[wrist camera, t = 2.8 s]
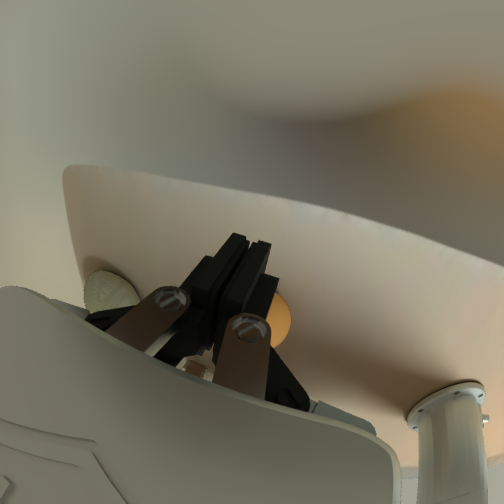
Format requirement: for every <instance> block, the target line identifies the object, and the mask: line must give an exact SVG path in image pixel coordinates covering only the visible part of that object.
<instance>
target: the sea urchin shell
mask: <svg viewBox="0 0 504 504" xmlns="http://www.w3.org/2000/svg"><path fill="white" fill-rule="evenodd" d="M140 302H141V301H140V298H139V296H138V294H137V293H136V291H135V289H134V287H133V286H132V285H131V284H130V283H129V282H127V281H126V280H124V279H123V278H121V277H120V276H118V275H115V274H113V273H111V272H108V271H102V270H101V271H100V270H99V271H97V272H94V273H93V274H91V275H90V277H89V278H88V280H87V282H86V283H85V286H84V303H85V306H86V309H87V310H90V312H91V314H92V313H94V312H97V311H102V310H108V309H114V308H120V307H126V306H132V305H137V304H138V303H140Z"/></svg>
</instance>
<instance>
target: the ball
mask: <svg viewBox="0 0 504 504" xmlns="http://www.w3.org/2000/svg"><path fill="white" fill-rule="evenodd" d="M266 321H267V322H268V323H269V325H270V327H271V333H272V334H271V344H270V345H271V346H272V347H273V348H274V347H276V346H278V345H279V344H280V343H281V342H282V341H283V340H284V339H285V337H286V336H287V334H288V332H289V329H290V325H291V315H290V310H289V308H288V306H287V304H286V302H285V301H284V300H283V299H282V298H281V297H280V296H279V295H278V294H277V293H275V295H274V298H273V301H272V304H271V307H270V310H269V313H268V316H267V319H266Z"/></svg>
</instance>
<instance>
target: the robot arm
mask: <svg viewBox="0 0 504 504" xmlns="http://www.w3.org/2000/svg"><path fill="white" fill-rule="evenodd" d="M249 244H250V241H248V240H246V236H244V235H240V234H237V233H232V235H231V236H230V237H229V238H228V240H227V241H226V242H225V243H224V245H223V246H222V247H221V249H220V250H219V251H218V252H217V254H216V255H215V256H214V257H210V256H205V257H204V258H203V259H202V260H201V261H200V263H199V264H198V265H197V266H196V268H195V269H194V270H193V271H192V272H191V274H190V275H189V276H188V277H187V278H186V280H185V281H184V282H183V283H182V285H181V286H180V287H179V288H178V287H174V286H164V287H160V288H158V289H156V290H154V291H153V292H152V293H151V294H149V295H148V296H147V297H146V298H144V299H143V300H142V301H141V302H140V303H138V304H137V305H132V306H126V307H120V308H114V309H108V310H102V311H97V312H94V313H92V314H91V312H90V310H87V309H84V308H80V307H77V306H74V305H71V304H68V303H65V302H62V301H59V300H56V299H49V298H47V297H46V296H44V295H41V294H39V293H37V292H35V291H33V290H29V289H27V288H23V287H18V286H5V287H2V288H0V504H401V496H402V481H401V469H400V463H399V460H398V457H397V455H396V453H395V452H394V450H393V449H392V448H391V447H390V446H389V445H388V444H387V443H385V442H384V441H383V440H381V439H380V438H378V437H376V431H375V428H374V427H373V425H372V424H371V423H370V422H368V421H366V420H364V419H362V418H359V417H357V416H354V415H352V414H350V413H347V412H345V411H342V410H340V409H338V408H335V407H333V406H331V405H329V404H326V403H324V402H322V401H320V400H319V401H318V402H315V401H313V400H311V399H309V396H308V395H307V393H306V391H305V390H304V389H303V387H302V386H301V385H300V383H299V382H298V381H297V380H296V378H295V377H294V376H293V374H292V373H291V372H290V370H289V369H288V368H287V366H286V365H285V364H284V362H283V361H282V360H281V358H280V357H279V355H278V354H277V353H276V351H275V350H274V349H273V347H272V346H271V345H270V344H271V334H272V333H271V327H270V325H269V323H268V322H267V321H266V319H267V316H268V313H269V310H270V307H271V304H272V301H273V298H274V295H275V291H276V288H277V285H278V282H279V278H277V277H274V276H270V275H267V274H264V272H265V268H266V265H267V261H268V257H269V253H270V249H271V244H270V243H267V242H264V241H260V240H259V241H258V242H257V243H255V242H253V243H252V244H251V246H250V248H249ZM248 249H249V250H248ZM213 343H214V347H213V358H212V361H213V363H214V365H215V367H216V368H215V372H214V376H213V379H212V382H210V381H207V380H204V379H202V378H199V377H197V376H194V375H192V374H190V373H187V372H185V371H182V370H181V369H182V367H183V366H184V365H185V364H186V362H187V361H188V358H189V356H193V355H196V354H197V355H200V356H202V355H203V353H204V351H205V349H206V350H208V351H209V350H210V349H211V347H212V345H213ZM485 397H486V393H485V390H484V387H483V386H482V385H481V384H479V383H473V382H468V383H461V384H456V385H453V386H450V387H447V388H444V389H442V390H440V391H437V392H435V393H433V394H432V395H430V396H428V397H426V398H425V399H423V400H422V401H420V402H419V403H418V404H417V405H415V407H414V408H413V409H412V410H411V411H410V413H409V414H408V418H407V420H408V426H409V428H410V429H412V430H414V431H417V432H418V440H419V472H418V493H417V504H487V503H488V487H487V486H488V484H487V464H486V453H485V444H484V437H483V430H482V429H483V427H484V423H487V422H488V420H489V415H482V411H481V405H482V404H483V402H484V400H485Z"/></svg>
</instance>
